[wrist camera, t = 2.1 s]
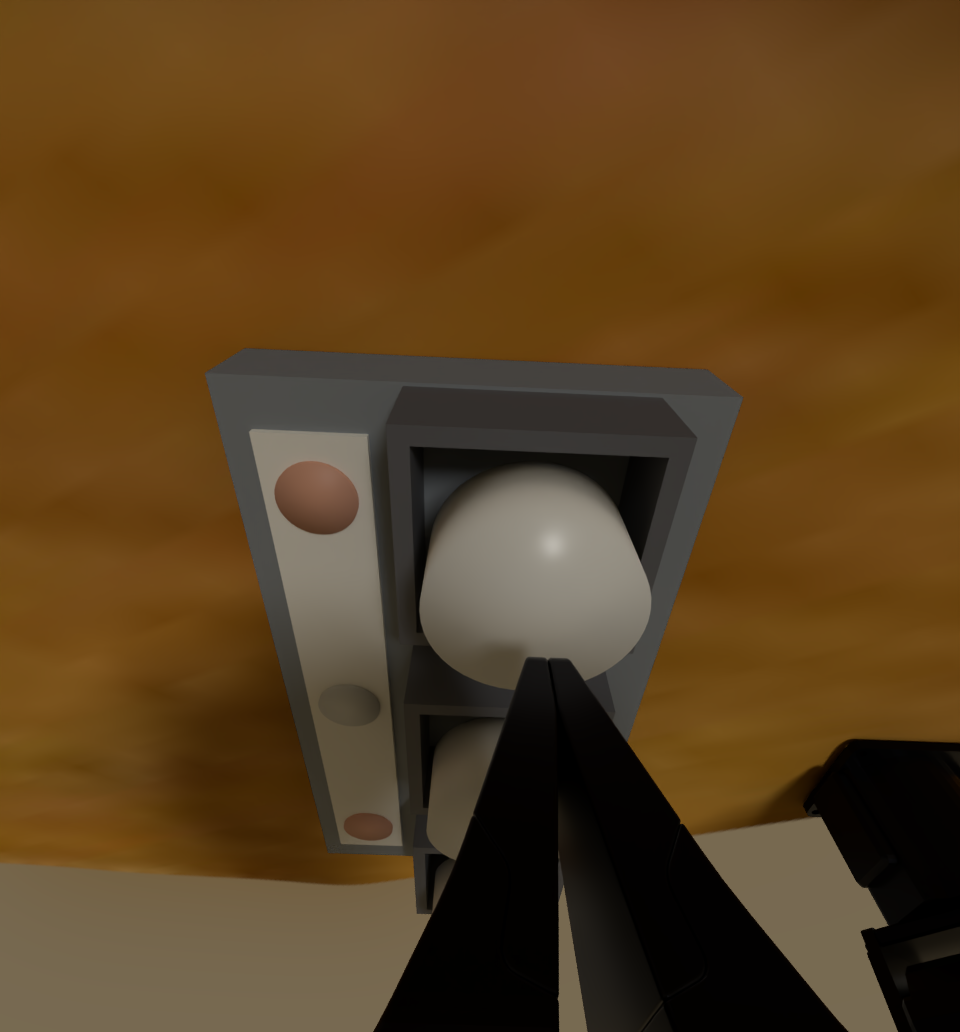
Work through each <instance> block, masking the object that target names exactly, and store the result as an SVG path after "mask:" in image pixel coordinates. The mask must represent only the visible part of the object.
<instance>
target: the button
mask: <svg viewBox="0 0 960 1032" xmlns="http://www.w3.org/2000/svg"><path fill="white" fill-rule="evenodd" d="M650 611H651V592H650V586H649V583H648V580H647V577H646V574H645V572H644V569H643V567H642V565H641V562H640V560H639V558H638V555H637V553H636V550H635V548H634V546H633V543H632V541H631V538H630V536H629V534H628V531H627V529H626V527H625V524H624V522H623V519H622V517H621V515H620V512H619V510H618V508H617V506H616V504H615V503H614V501H613V500H612V498H611V497H610V496H609V494H608V493H607V492H606V491H605V490H604V489H603V488H602V487H601V486H600V485H599V484H598V483H597V482H595V481H594V480H592V479H591V478H590V477H588V476H586V475H584V474H583V473H581V472H579V471H577V470H574V469H571V468H569V467H566V466H563V465H559V464H554V463H549V462H539V461H522V462H515V463H508V464H504V465H500V466H496V467H493V468H491V469H488V470H485V471H483V472H481V473H479V474H477V475H475V476H473V477H471V478H470V479H468V480H467V481H466V482H464V483H463V484H461V485H460V486H459V487H458V488H457V489H456V490H455V491H454V492H453V493H451V495H450V496H449V497H448V498H447V499H446V501H445V502H444V503H443V505H442V507H441V508H440V510H439V512H438V513H437V516H436V518H435V521H434V524H433V528H432V532H431V538H430V544H429V550H428V555H427V561H426V567H425V573H424V579H423V585H422V591H421V597H420V609H419V612H420V621H421V625H422V628H423V632H424V634H425V636H426V638H427V640H428V642H429V644H430V645H431V647H432V648H433V649H434V651H435V652H436V653H437V654H438V655H439V656H440V658H441V659H442V660H443V661H445V662H446V663H447V664H448V665H449V666H451V667H452V668H453V669H455V670H457V671H458V672H460V673H461V674H463V675H465V676H467V677H469V678H471V679H473V680H476V681H478V682H481V683H484V684H487V685H490V686H494V687H498V688H504V689H510V690H515V688H516V685H517V682H518V679H519V676H520V673H521V671H522V668H523V665H524V662H525V659H526V658H527V657H545V658H546V659H547V660H548V659H549V658H551V657H552V658H568V659H569V660H570V661H571V662H572V663H573V665H574V666H575V667H576V669H577V670H578V672H579V673H580V675H581V676H582V678H583V679H584V681H586V680H588V679H591V678H593V677H595V676H597V675H599V674H601V673H603V672H604V671H606V670H608V669H609V668H611V667H612V666H614V665H615V664H616V663H618V662H619V661H620V660H622V659H623V658H624V657H625V656H626V655H627V654H628V653H629V652H630V651H631V650H632V648H633V647H634V646H635V645H636V643H637V642H638V641H639V639H640V637H641V636H642V634H643V632H644V630H645V628H646V625H647V623H648V620H649V616H650Z"/></svg>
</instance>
